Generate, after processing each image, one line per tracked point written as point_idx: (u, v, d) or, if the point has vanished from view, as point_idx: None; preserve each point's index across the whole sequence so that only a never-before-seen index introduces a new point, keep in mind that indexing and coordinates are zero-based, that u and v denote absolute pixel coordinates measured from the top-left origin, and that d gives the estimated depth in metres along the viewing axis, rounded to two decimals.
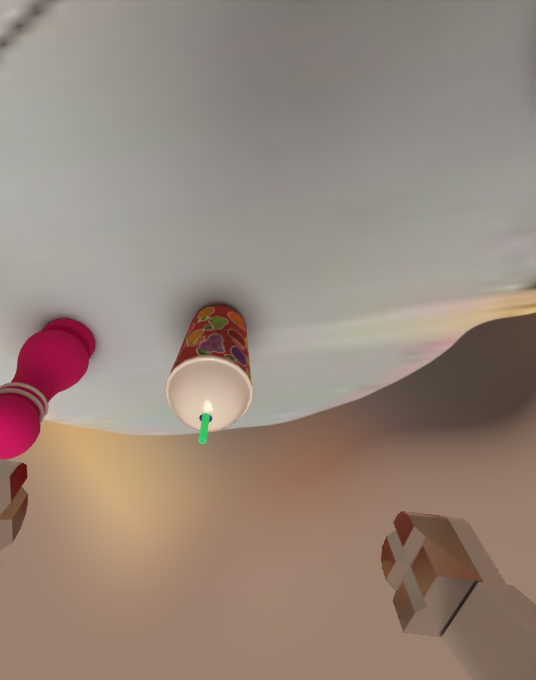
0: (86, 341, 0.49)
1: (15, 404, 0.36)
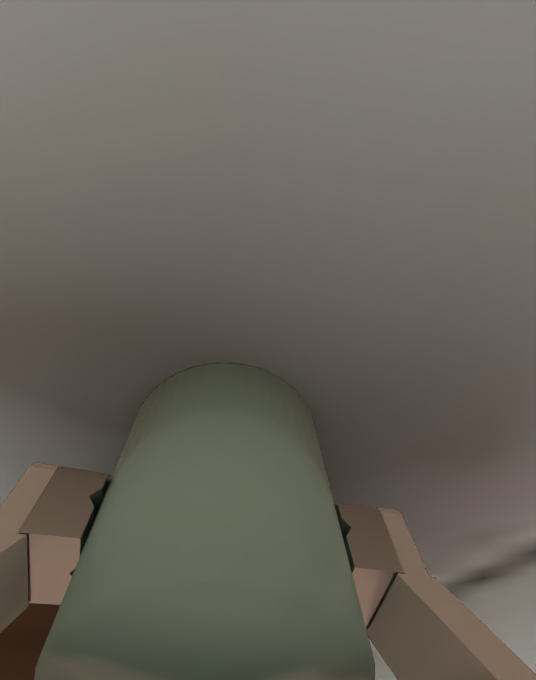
0: None
1: None
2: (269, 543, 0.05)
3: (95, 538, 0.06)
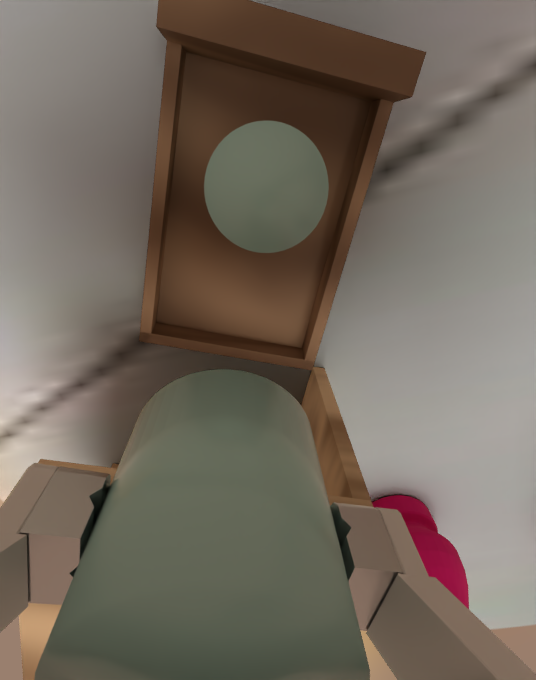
0: (436, 531, 0.31)
1: None
2: (265, 550, 0.06)
3: (94, 544, 0.06)
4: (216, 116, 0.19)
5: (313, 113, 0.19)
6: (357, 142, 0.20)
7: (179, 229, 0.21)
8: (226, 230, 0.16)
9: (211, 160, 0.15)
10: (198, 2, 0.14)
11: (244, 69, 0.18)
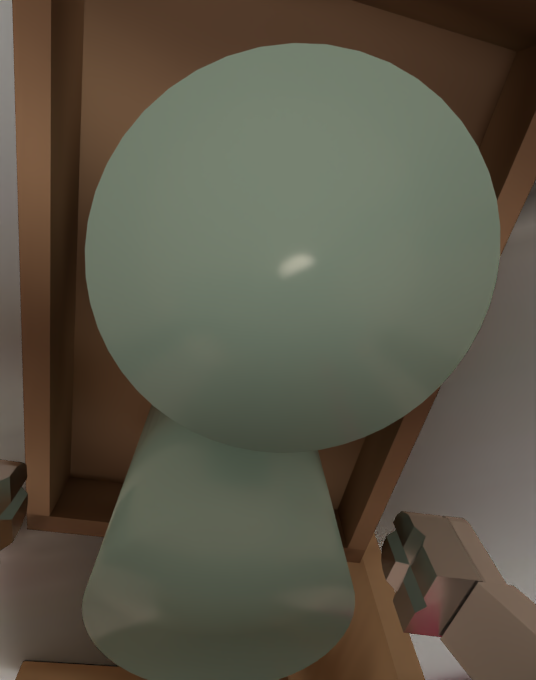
0: None
1: None
2: (269, 494, 0.07)
3: (126, 496, 0.08)
4: (167, 82, 0.08)
5: None
6: None
7: None
8: (170, 401, 0.05)
9: (102, 193, 0.04)
10: None
11: None
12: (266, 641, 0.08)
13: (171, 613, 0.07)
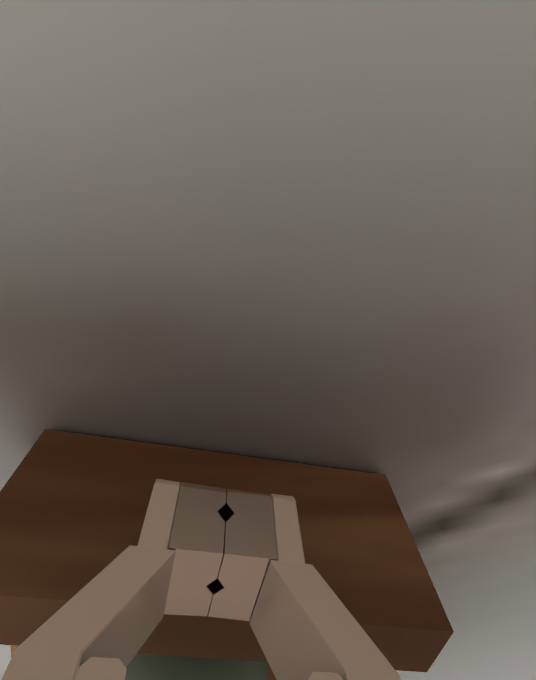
0: None
1: None
2: None
3: None
4: None
5: None
6: None
7: None
8: None
9: None
10: (14, 612, 0.07)
11: None
12: None
13: None
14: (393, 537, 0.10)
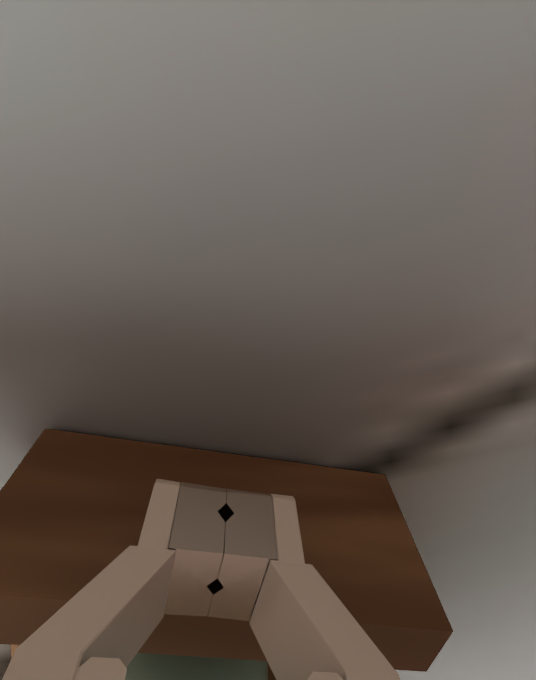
0: None
1: None
2: None
3: None
4: None
5: None
6: None
7: None
8: None
9: None
10: (15, 611, 0.07)
11: None
12: None
13: None
14: (393, 537, 0.10)
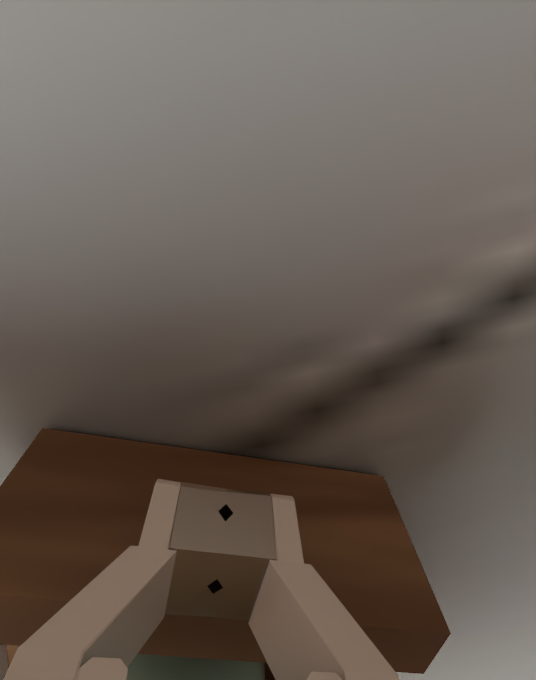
0: None
1: None
2: None
3: None
4: None
5: None
6: None
7: None
8: None
9: None
10: (10, 612, 0.07)
11: None
12: None
13: None
14: (391, 538, 0.10)
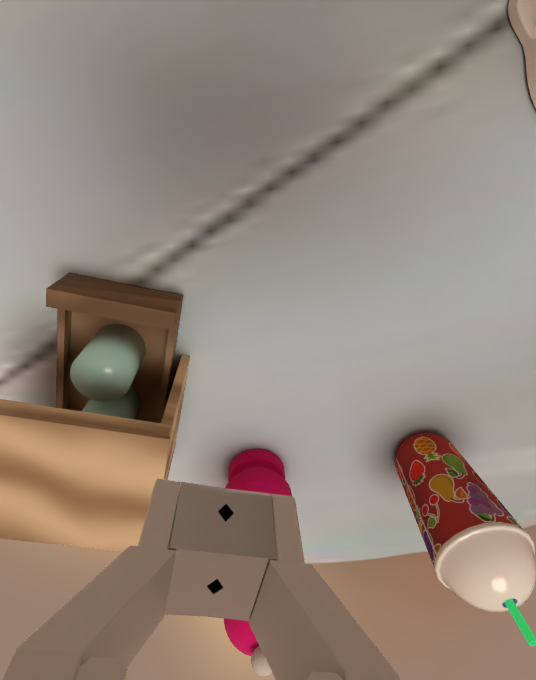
0: (283, 474, 0.44)
1: None
2: (111, 412, 0.35)
3: (82, 411, 0.36)
4: (91, 319, 0.37)
5: None
6: (169, 330, 0.37)
7: None
8: (83, 392, 0.33)
9: (72, 365, 0.32)
10: (64, 297, 0.32)
11: None
12: None
13: None
14: (173, 302, 0.35)
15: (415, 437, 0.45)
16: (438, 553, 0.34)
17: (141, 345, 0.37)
